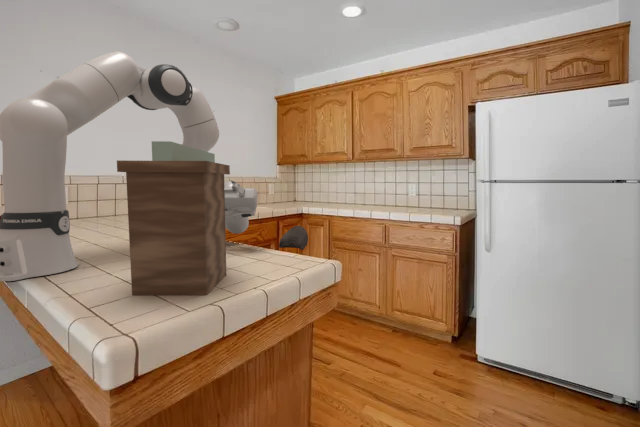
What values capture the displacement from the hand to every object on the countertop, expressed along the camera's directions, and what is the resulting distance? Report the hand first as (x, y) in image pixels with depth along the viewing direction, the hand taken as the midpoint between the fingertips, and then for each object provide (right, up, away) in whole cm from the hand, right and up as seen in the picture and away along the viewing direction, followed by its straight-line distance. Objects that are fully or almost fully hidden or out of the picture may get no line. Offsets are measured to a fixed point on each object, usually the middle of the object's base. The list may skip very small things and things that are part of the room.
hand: (217, 185), depth 95 cm
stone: (+21, -19, +15) cm, 32 cm away
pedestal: (0, -23, -25) cm, 34 cm away
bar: (0, +3, -22) cm, 22 cm away
